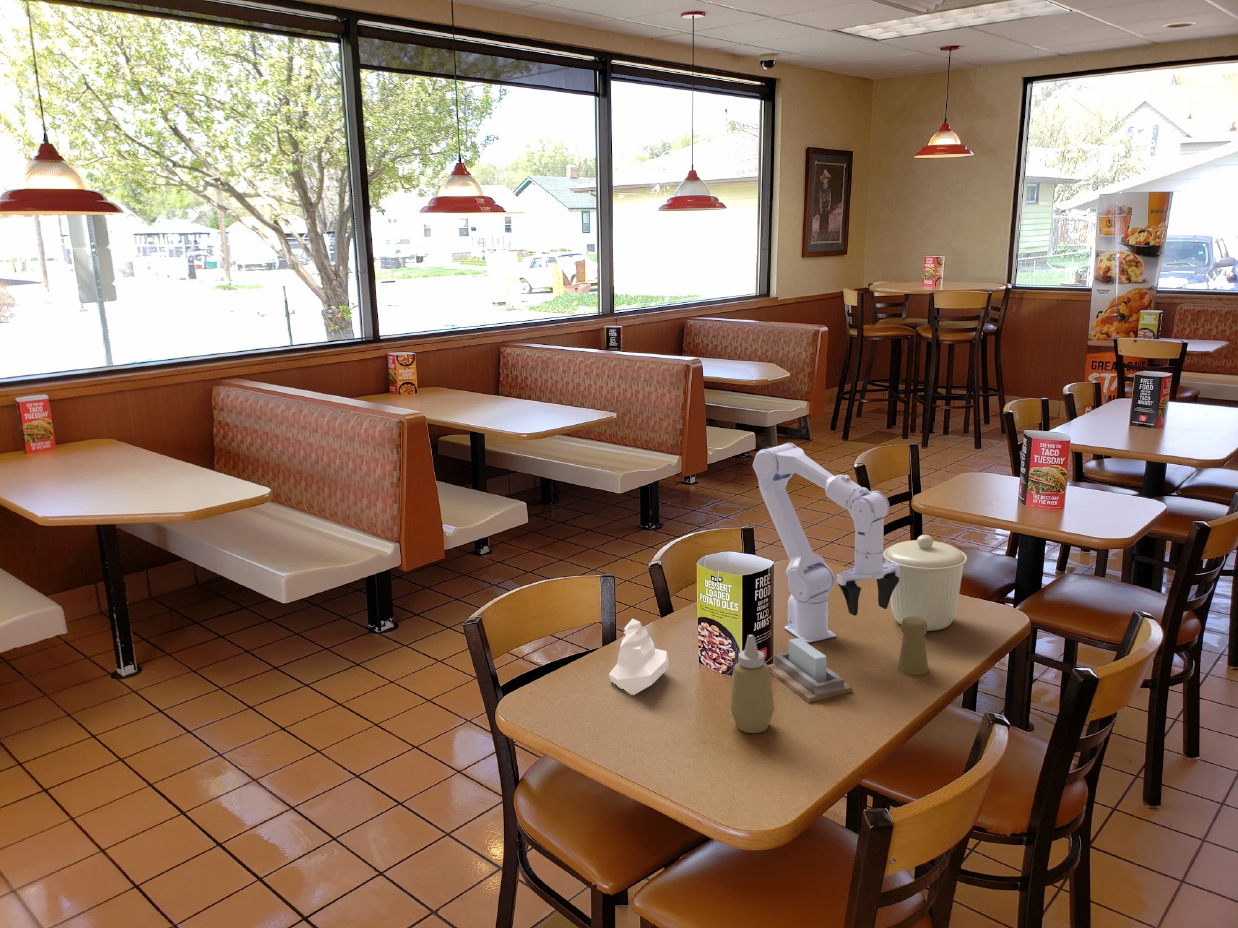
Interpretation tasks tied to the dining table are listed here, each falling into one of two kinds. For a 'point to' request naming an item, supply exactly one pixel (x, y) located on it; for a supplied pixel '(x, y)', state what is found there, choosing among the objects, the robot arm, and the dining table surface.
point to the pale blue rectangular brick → (807, 659)
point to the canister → (926, 580)
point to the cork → (913, 647)
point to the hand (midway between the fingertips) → (868, 610)
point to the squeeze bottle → (751, 690)
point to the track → (807, 680)
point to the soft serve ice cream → (638, 660)
